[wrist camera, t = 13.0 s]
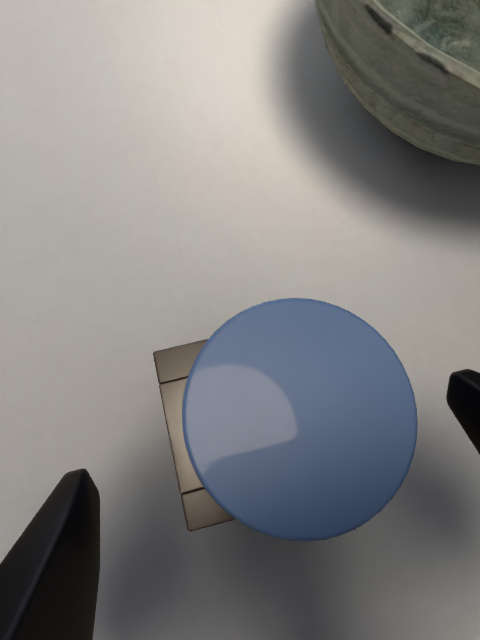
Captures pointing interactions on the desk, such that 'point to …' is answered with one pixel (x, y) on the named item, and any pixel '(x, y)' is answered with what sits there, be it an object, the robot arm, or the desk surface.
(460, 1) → the bowl
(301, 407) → the blue tall cylinder
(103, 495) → the desk surface
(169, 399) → the frame
